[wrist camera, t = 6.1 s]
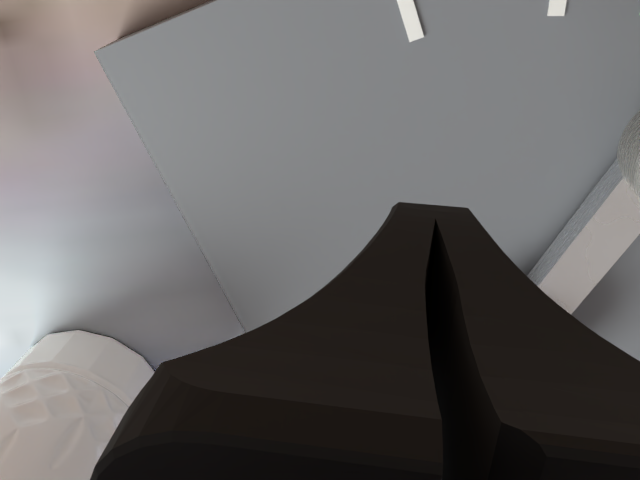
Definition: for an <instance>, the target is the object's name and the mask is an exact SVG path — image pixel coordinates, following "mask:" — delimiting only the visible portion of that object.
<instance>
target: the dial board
mask: <svg viewBox="0 0 640 480" xmlns="http://www.w3.org/2000/svg"><path fill="white" fill-rule="evenodd" d="M94 53H95V55H96V57H97V59H98V60H99V62H100V64H101V66H102V68H103V70H104V72H105V73H106V75H107V77H108V79H109V81H110V83H111V85H112V86H113V88H114V90H115V92H116V94H117V96H118V98H119V99H120V101H121V103H122V105H123V107H124V109H125V111H126V112H127V114H128V116H129V118H130V120H131V122H132V123H133V125H134V127H135V129H136V131H137V133H138V135H139V136H140V138H141V140H142V142H143V144H144V146H145V148H146V149H147V151H148V153H149V155H150V157H151V159H152V161H153V162H154V164H155V166H156V168H157V170H158V172H159V173H160V175H161V177H162V179H163V181H164V183H165V185H166V186H167V188H168V190H169V192H170V194H171V196H172V198H173V199H174V201H175V203H176V205H177V207H178V209H179V211H180V212H181V214H182V216H183V218H184V220H185V222H186V223H187V225H188V227H189V229H190V231H191V233H192V235H193V236H194V238H195V240H196V242H197V244H198V246H199V248H200V249H201V251H202V253H203V255H204V257H205V259H206V261H207V262H208V264H209V266H210V268H211V270H212V272H213V274H214V275H215V277H216V279H217V281H218V283H219V285H220V286H221V288H222V290H223V292H224V294H225V296H226V298H227V299H228V301H229V303H230V305H231V307H232V309H233V311H234V312H235V314H236V316H237V318H238V320H239V322H240V324H241V325H242V327H243V329H244V331H245V333H247V332H249V331H252V330H254V329H256V328H258V327H260V326H262V325H264V324H266V323H268V322H270V321H272V320H274V319H276V318H278V317H279V316H281V315H283V314H284V313H286V312H288V311H289V310H291V309H293V308H294V307H296V306H298V305H299V304H301V303H302V302H304V301H305V300H307V299H308V298H310V297H311V296H312V295H314V294H315V293H316V292H318V291H319V290H320V289H322V288H323V287H324V286H325V285H326V284H328V283H329V282H330V281H331V280H332V279H334V278H335V277H336V276H337V275H338V274H339V273H340V272H341V271H342V270H343V269H344V268H345V267H346V266H347V265H348V264H349V263H350V262H351V261H352V260H353V259H354V258H355V257H356V256H357V255H358V254H359V253H360V252H361V251H362V250H363V249H364V247H365V246H366V245H367V244H368V243H369V241H370V240H371V239H372V238H373V236H374V235H375V234H376V233H377V231H378V230H379V229H380V227H381V226H382V224H383V223H384V222H385V220H386V218H387V217H388V215H389V213H390V211H391V209H392V207H393V206H394V205H396V204H397V203H398V202H406V203H417V204H429V205H441V206H453V207H465V208H469V210H470V211H471V212H472V213H473V215H474V216H475V217H476V218H477V220H478V221H479V222H480V223H481V225H482V226H483V227H484V228H485V230H486V231H487V232H488V234H489V235H490V236H491V237H492V238H493V240H494V241H495V242H496V243H497V245H498V246H499V247H500V248H501V249H502V250H503V252H504V253H505V254H506V255H507V256H508V257H509V258H510V259H511V260H512V262H513V263H514V264H515V265H516V266H517V267H518V268H519V269H520V270H521V271H522V272H523V273H524V274H525V275H526V276H527V275H528V274H529V273H530V271H531V270H532V269H533V268H534V266H535V265H536V264H537V262H538V261H539V260H540V258H541V257H542V256H543V254H544V253H545V252H546V250H547V249H548V248H549V247H550V245H551V244H552V243H553V241H554V240H555V239H556V237H557V236H558V235H559V233H560V232H561V231H562V230H563V228H564V227H565V226H566V224H567V223H568V222H569V220H570V219H571V218H572V216H573V215H574V214H575V213H576V211H577V210H578V209H579V207H580V206H581V205H582V203H583V202H584V201H585V199H586V198H587V197H588V195H589V194H590V193H591V192H592V190H593V189H594V188H595V186H596V185H597V184H598V182H599V181H600V180H601V178H602V177H603V176H604V175H605V173H606V172H607V171H608V169H609V168H610V167H611V165H612V164H613V163H614V161H615V160H616V159H617V151H618V145H619V141H620V138H621V135H622V133H623V131H624V129H625V128H626V126H627V125H628V123H629V122H630V120H631V119H632V118H633V117H634V116H635V115H636V114H637V113H638V112H639V111H640V0H211V1H208V2H206V3H204V4H201V5H199V6H197V7H194V8H192V9H189V10H187V11H185V12H182V13H180V14H177V15H175V16H173V17H170V18H168V19H165V20H163V21H161V22H158V23H156V24H154V25H151V26H149V27H146V28H144V29H142V30H139V31H137V32H134V33H132V34H130V35H127V36H125V37H122V38H120V39H118V40H115V41H113V42H112V43H110V44H108V45H106V46H104V47H102V48H100V49H98V50H96V51H94ZM571 315H572V316H573V317H575V318H576V319H577V320H579V321H580V322H581V323H582V324H584V325H585V326H586V327H588V328H589V329H591V330H592V331H594V332H595V333H597V334H598V335H599V336H601V337H602V338H604V339H605V340H607V341H609V342H610V343H612V344H613V345H615V346H616V347H618V348H620V349H621V350H623V351H624V352H626V353H627V354H629V355H631V356H632V357H634V358H635V359H637V360H639V361H640V234H639V235H638V236H637V238H636V239H635V240H634V241H633V242H632V244H631V245H630V246H629V247H628V248H627V249H626V251H625V252H624V253H623V254H622V255H621V256H620V258H619V259H618V260H617V261H616V262H615V263H614V265H613V266H612V267H611V268H610V269H609V271H608V272H607V273H606V274H605V275H604V276H603V278H602V279H601V280H600V281H599V282H598V283H597V285H596V286H595V287H594V288H593V289H592V290H591V292H590V293H589V294H588V295H587V296H586V298H585V299H584V300H583V301H582V302H581V303H580V305H579V306H578V307H577V308H576V309H575V310H574V312H573V313H572V314H571Z"/></svg>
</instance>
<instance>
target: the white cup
mask: <svg viewBox="0 0 640 480" xmlns="http://www.w3.org/2000/svg"><path fill="white" fill-rule="evenodd" d="M154 373H155V371H154V370H153V369H152V368H151V366H150V365H149V364H148V363H147V362H146V360H145V359H144V358H143V357H142V356H141V355H139V354H137V353H136V352H134V351H133V350H131V349H129V348H128V347H126V346H125V345H123V344H121V343H120V342H118V341H116V340H115V339H113V338H110V337H106V336H102V335H98V334H94V333H89V332H85V331H81V330H73V331H66V332H60V333H53V334H48V335H46V336H45V337H44V338H42V339H41V340H40V341H39V342H37V343H36V344H35V345H34V346H33V347H31V348H30V349H29V350H28V351H27V352H26V353H25V354H24V355H23V356H22V357H21V358H20V359H19V360H18V361H17V362H16V363H15V365H14V366H13V367H12V368H11V369H10V370H9V371H8V372H7V373H6V374H5V375H4V376H3V377H2V378H1V379H0V480H90V478H91V475H92V473H93V470H94V467H95V465H96V463H97V462H98V460H99V458H100V456H101V455H102V453H103V451H104V449H105V448H106V446H107V444H108V442H109V441H110V439H111V437H112V435H113V434H114V432H115V430H116V428H117V426H118V425H119V423H120V421H121V419H122V418H123V416H124V414H125V413H126V411H127V409H128V408H129V406H130V405H131V404H132V402H133V401H134V399H135V398H136V396H137V395H138V394H139V392H140V391H141V389H142V388H143V387H144V386H145V385H146V383H147V382H148V381H149V379H150V378H151V377H152V375H153V374H154Z"/></svg>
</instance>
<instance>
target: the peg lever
mask: <svg viewBox="0 0 640 480" xmlns="http://www.w3.org/2000/svg"><path fill="white" fill-rule="evenodd" d="M639 234H640V111H639V112H638V113H637V114H636V115H635V116H634V117H633V118H632V119H631V120H630V122H629V123H628V125H627V126H626V128H625V129H624V131H623V133H622V135H621V138H620V141H619V145H618V151H617V159H616V160H615V161H614V163H613V164H612V165H611V167H610V168H609V169H608V171H607V172H606V173H605V175H604V176H603V177H602V178H601V180H600V181H599V182H598V184H597V185H596V186H595V188H594V189H593V190H592V192H591V193H590V194H589V195H588V197H587V198H586V199H585V201H584V202H583V203H582V205H581V206H580V207H579V209H578V210H577V211H576V213H575V214H574V215H573V216H572V218H571V219H570V220H569V222H568V223H567V224H566V226H565V227H564V228H563V230H562V231H561V232H560V233H559V235H558V236H557V237H556V239H555V240H554V241H553V243H552V244H551V245H550V247H549V248H548V249H547V250H546V252H545V253H544V254H543V256H542V257H541V258H540V260H539V261H538V262H537V264H536V265H535V266H534V268H533V269H532V270H531V271H530V273H529V274H528V275H527V277H528V278H529V279H530V280H531V281H532V282H533V283H535V284H536V285H537V286H538V287H539V288H540V289H541V290H542V291H543V292H544V293H545V294H546V295H547V296H549V297H550V298H551V299H552V300H553V301H554V302H556V303H557V304H558V305H559V306H561V307H562V308H563V309H564V310H566V311H567V312H568V313H570V314H572V313H573V312H574V310H575V309H576V308H577V307H578V306H579V305H580V303H581V302H582V301H583V300H584V299H585V298H586V296H587V295H588V294H589V293H590V292H591V290H592V289H593V288H594V287H595V286H596V285H597V283H598V282H599V281H600V280H601V279H602V278H603V276H604V275H605V274H606V273H607V272H608V271H609V269H610V268H611V267H612V266H613V265H614V263H615V262H616V261H617V260H618V259H619V258H620V256H621V255H622V254H623V253H624V252H625V251H626V249H627V248H628V247H629V246H630V245H631V244H632V242H633V241H634V240H635V239H636V238H637V236H638V235H639Z"/></svg>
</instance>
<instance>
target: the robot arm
mask: <svg viewBox="0 0 640 480" xmlns="http://www.w3.org/2000/svg"><path fill="white" fill-rule="evenodd" d="M90 480H640V361H639V360H637V359H635V358H634V357H632V356H631V355H629V354H627V353H626V352H624V351H623V350H621V349H620V348H618V347H616V346H615V345H613V344H612V343H610V342H609V341H607V340H605V339H604V338H602V337H601V336H599V335H598V334H597V333H595V332H594V331H592V330H591V329H589V328H588V327H586V326H585V325H584V324H582V323H581V322H580V321H579V320H577V319H576V318H575V317H573V316H572V315H571V314H570V313H568V312H567V311H566V310H564V309H563V308H562V307H561V306H559V305H558V304H557V303H556V302H554V301H553V300H552V299H551V298H550V297H549V296H547V295H546V294H545V293H544V292H543V291H542V290H541V289H540V288H539V287H538V286H537V285H536V284H535V283H533V282H532V281H531V280H530V279H529V278H528V277H527V276H526V275H525V274H524V273H523V272H522V271H521V270H520V269H519V268H518V267H517V266H516V265H515V264H514V263H513V262H512V260H511V259H510V258H509V257H508V256H507V255H506V254H505V253H504V252H503V250H502V249H501V248H500V247H499V246H498V245H497V243H496V242H495V241H494V240H493V238H492V237H491V236H490V235H489V234H488V232H487V231H486V230H485V228H484V227H483V226H482V225H481V223H480V222H479V221H478V220H477V218H476V217H475V216H474V215H473V213H472V212H471V211H470V210H469V208H465V207H453V206H441V205H429V204H417V203H406V202H398V203H397V204H396V205H394V206H393V207H392V209H391V211H390V213H389V215H388V217H387V218H386V220H385V222H384V223H383V224H382V226H381V227H380V229H379V230H378V231H377V233H376V234H375V235H374V236H373V238H372V239H371V240H370V241H369V243H368V244H367V245H366V246H365V247H364V249H363V250H362V251H361V252H360V253H359V254H358V255H357V256H356V257H355V258H354V259H353V260H352V261H351V262H350V263H349V264H348V265H347V266H346V267H345V268H344V269H343V270H342V271H341V272H340V273H339V274H338V275H337V276H336V277H335V278H334V279H332V280H331V281H330V282H329V283H328V284H326V285H325V286H324V287H323V288H322V289H320V290H319V291H318V292H316V293H315V294H314V295H312V296H311V297H310V298H308V299H307V300H305V301H304V302H302V303H301V304H299V305H298V306H296V307H294V308H293V309H291V310H289V311H288V312H286V313H284V314H283V315H281V316H279V317H278V318H276V319H274V320H272V321H270V322H268V323H266V324H264V325H262V326H260V327H258V328H256V329H254V330H252V331H249V332H247V333H245V334H242V335H240V336H238V337H236V338H233V339H231V340H228V341H226V342H223V343H221V344H218V345H215V346H212V347H209V348H206V349H203V350H200V351H197V352H194V353H191V354H188V355H185V356H182V357H179V358H176V359H173V360H169V361H166V362H163V363H161V364H160V365H159V367H158V368H157V370H156V371H155V373H154V374H153V375H152V377H151V378H150V379H149V381H148V382H147V383H146V385H145V386H144V387H143V388H142V389H141V391H140V392H139V394H138V395H137V396H136V398H135V399H134V401H133V402H132V404H131V405H130V406H129V408H128V409H127V411H126V413H125V414H124V416H123V418H122V419H121V421H120V423H119V425H118V426H117V428H116V430H115V432H114V434H113V435H112V437H111V439H110V441H109V442H108V444H107V446H106V448H105V449H104V451H103V453H102V455H101V456H100V458H99V460H98V462H97V463H96V465H95V467H94V470H93V473H92V475H91V478H90Z"/></svg>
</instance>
